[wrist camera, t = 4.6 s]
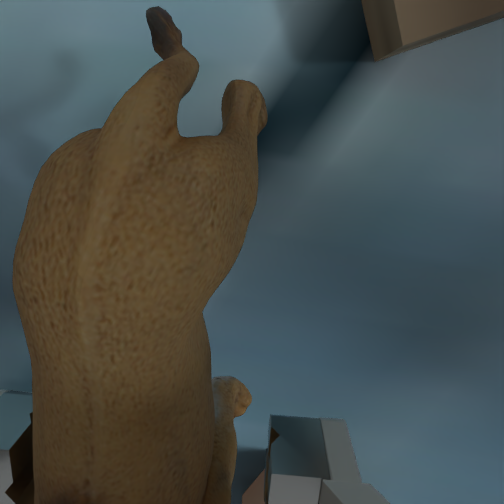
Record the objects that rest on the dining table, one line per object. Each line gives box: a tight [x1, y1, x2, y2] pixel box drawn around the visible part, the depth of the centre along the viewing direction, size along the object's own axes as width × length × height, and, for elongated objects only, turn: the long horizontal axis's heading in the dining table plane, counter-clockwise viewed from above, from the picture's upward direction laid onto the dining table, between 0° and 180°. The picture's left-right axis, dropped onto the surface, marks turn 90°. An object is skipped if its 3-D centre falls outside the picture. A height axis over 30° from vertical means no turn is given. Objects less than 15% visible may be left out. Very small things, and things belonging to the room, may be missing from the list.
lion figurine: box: [13, 6, 267, 504], centre depth 7 cm, size 15×5×9 cm, turn 5°
